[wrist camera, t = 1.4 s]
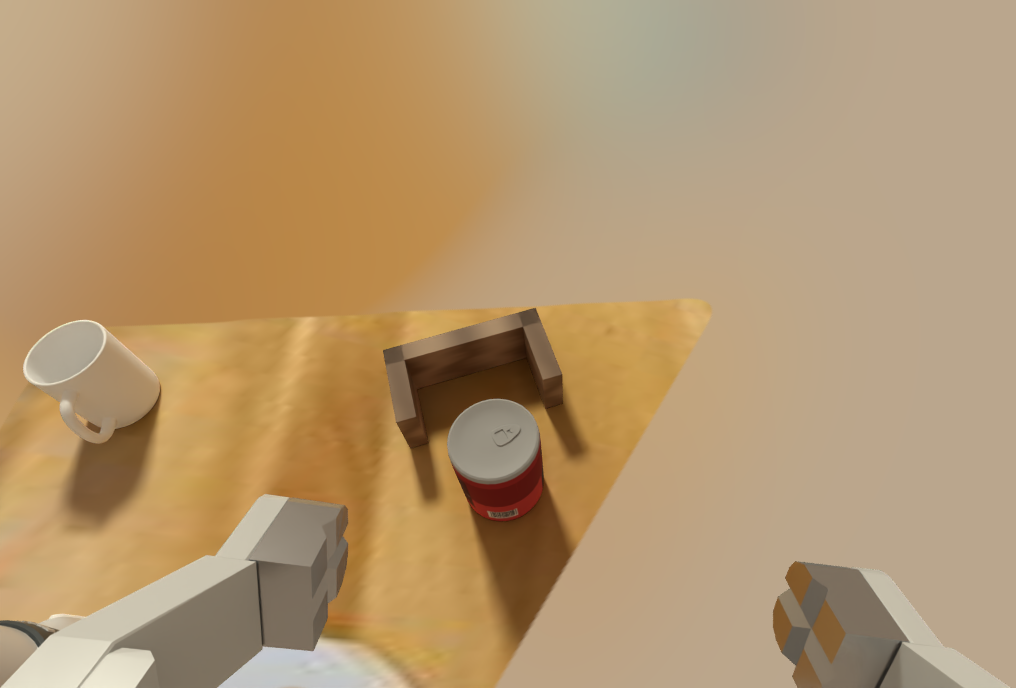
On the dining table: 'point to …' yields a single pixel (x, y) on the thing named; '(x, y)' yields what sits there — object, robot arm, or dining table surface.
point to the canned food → (497, 458)
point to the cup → (92, 378)
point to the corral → (468, 364)
